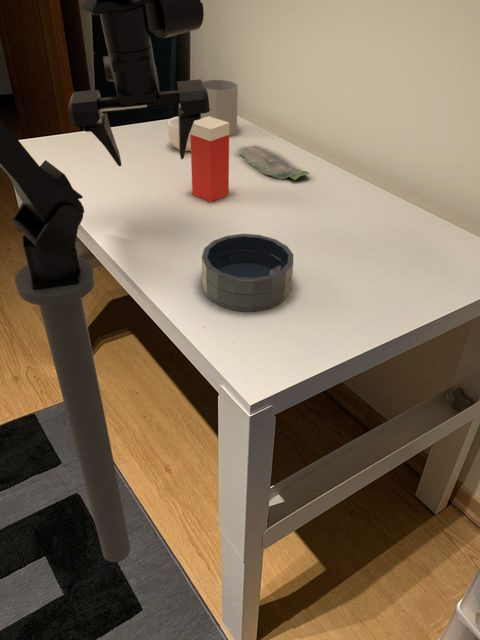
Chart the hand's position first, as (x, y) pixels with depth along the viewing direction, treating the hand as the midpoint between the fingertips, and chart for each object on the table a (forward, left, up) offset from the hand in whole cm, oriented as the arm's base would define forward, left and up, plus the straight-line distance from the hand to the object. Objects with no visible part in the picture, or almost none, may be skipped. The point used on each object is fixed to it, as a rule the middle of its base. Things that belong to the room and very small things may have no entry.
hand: (151, 161), depth 83 cm
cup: (+23, +46, -12) cm, 53 cm away
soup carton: (+12, +13, -12) cm, 22 cm away
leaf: (+28, +24, -12) cm, 39 cm away
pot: (+9, -18, -12) cm, 24 cm away
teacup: (+13, +36, -12) cm, 40 cm away
